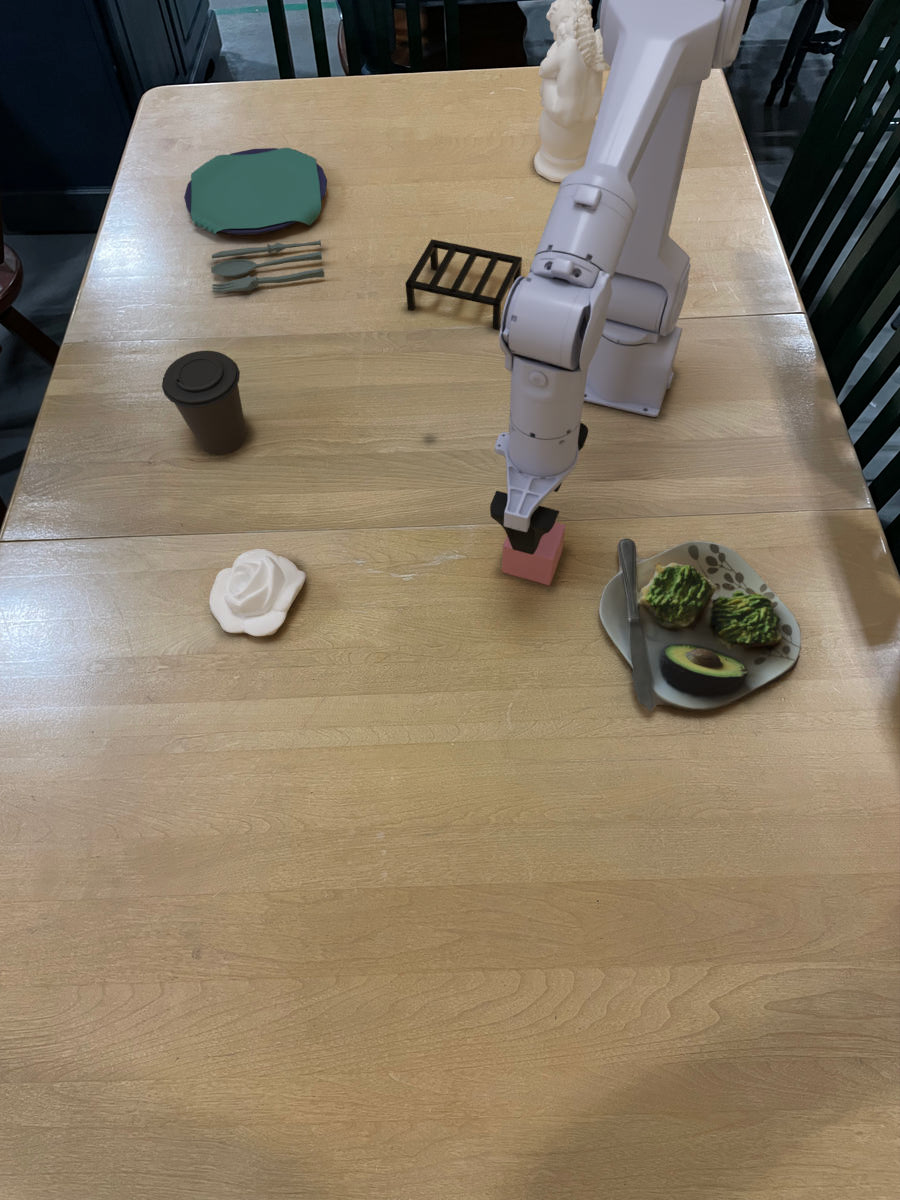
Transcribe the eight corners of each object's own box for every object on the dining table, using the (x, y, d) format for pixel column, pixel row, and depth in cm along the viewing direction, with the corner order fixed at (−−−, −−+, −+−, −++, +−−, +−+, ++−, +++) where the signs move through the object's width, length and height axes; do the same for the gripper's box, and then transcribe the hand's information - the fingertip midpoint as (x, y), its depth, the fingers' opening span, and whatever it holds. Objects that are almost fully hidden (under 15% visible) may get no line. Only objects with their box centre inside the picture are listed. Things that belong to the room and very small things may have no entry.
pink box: (562, 551, 86) (565, 524, 82) (549, 585, 84) (553, 560, 80) (515, 538, 87) (516, 511, 83) (501, 572, 85) (502, 546, 81)
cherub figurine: (537, 142, 125) (547, -31, 106) (622, 146, 124) (647, -28, 105) (529, 191, 118) (539, 16, 100) (619, 196, 117) (645, 20, 99)
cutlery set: (324, 153, 125) (321, 137, 123) (341, 283, 109) (338, 267, 107) (188, 169, 124) (184, 153, 122) (186, 302, 108) (180, 287, 106)
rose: (316, 597, 79) (215, 635, 77) (323, 621, 83) (227, 658, 81) (284, 519, 84) (188, 553, 82) (292, 545, 87) (201, 578, 86)
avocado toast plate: (549, 580, 84) (553, 553, 80) (700, 514, 88) (710, 485, 84) (658, 743, 75) (668, 722, 71) (821, 662, 78) (839, 637, 75)
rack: (520, 284, 108) (522, 257, 105) (498, 330, 104) (499, 303, 100) (432, 266, 111) (431, 238, 107) (407, 310, 106) (405, 283, 103)
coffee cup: (173, 453, 95) (142, 387, 86) (210, 404, 99) (184, 335, 90) (236, 473, 93) (211, 407, 84) (271, 421, 97) (251, 354, 88)
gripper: (524, 343, 72) (518, 451, 84) (468, 466, 65) (469, 566, 76) (605, 361, 71) (588, 468, 82) (556, 489, 63) (545, 587, 75)
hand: (536, 517), depth 79 cm, fingers open, 7 cm apart
